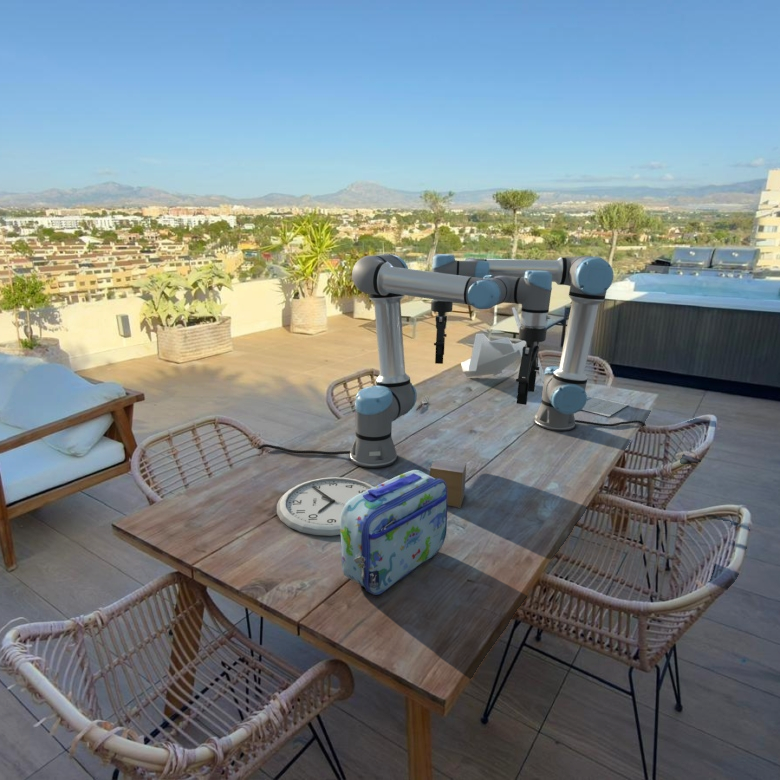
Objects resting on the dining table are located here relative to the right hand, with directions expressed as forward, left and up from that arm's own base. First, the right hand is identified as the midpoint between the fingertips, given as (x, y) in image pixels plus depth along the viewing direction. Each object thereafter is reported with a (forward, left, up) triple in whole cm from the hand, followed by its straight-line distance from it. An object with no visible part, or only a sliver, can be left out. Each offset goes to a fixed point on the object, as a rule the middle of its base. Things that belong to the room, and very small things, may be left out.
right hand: (439, 358), depth 189 cm
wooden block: (-5, +53, -28) cm, 60 cm away
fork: (+7, -26, -28) cm, 39 cm away
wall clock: (+26, +61, -28) cm, 72 cm away
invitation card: (-70, -38, -28) cm, 84 cm away
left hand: (-26, +34, -2) cm, 43 cm away
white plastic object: (-29, -66, -28) cm, 77 cm away
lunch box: (+6, +86, -28) cm, 90 cm away
